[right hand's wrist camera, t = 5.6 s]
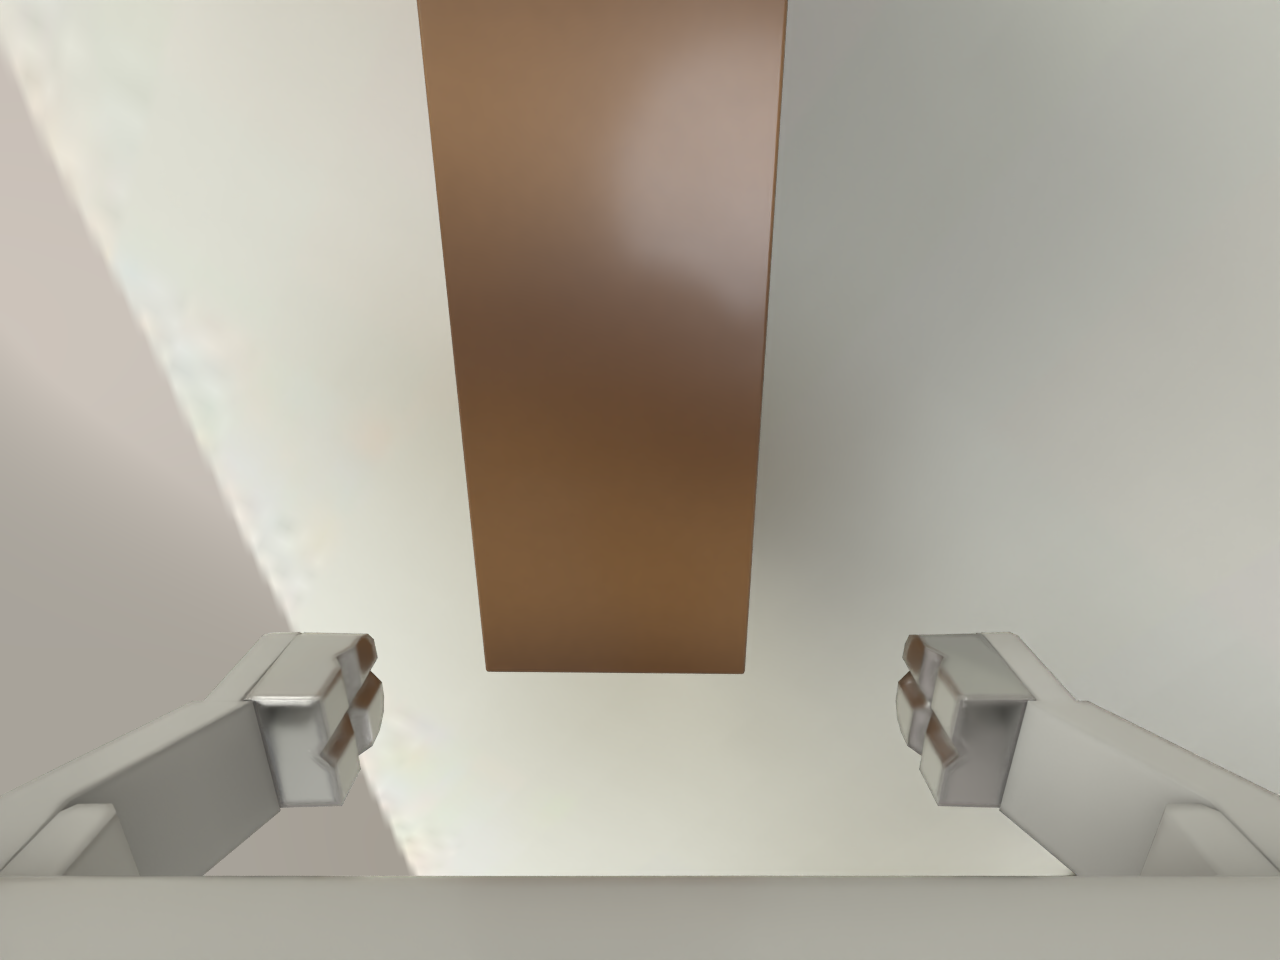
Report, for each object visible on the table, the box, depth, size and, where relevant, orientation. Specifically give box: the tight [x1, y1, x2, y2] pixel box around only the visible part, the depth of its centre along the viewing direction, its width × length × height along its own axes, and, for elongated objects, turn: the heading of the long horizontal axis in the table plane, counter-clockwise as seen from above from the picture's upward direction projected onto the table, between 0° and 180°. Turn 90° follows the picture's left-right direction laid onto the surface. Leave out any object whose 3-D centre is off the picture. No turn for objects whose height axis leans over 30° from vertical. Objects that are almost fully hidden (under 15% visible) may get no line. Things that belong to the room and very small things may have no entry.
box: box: [417, 0, 788, 674], centre depth 16 cm, size 27×6×12 cm, turn 0°
